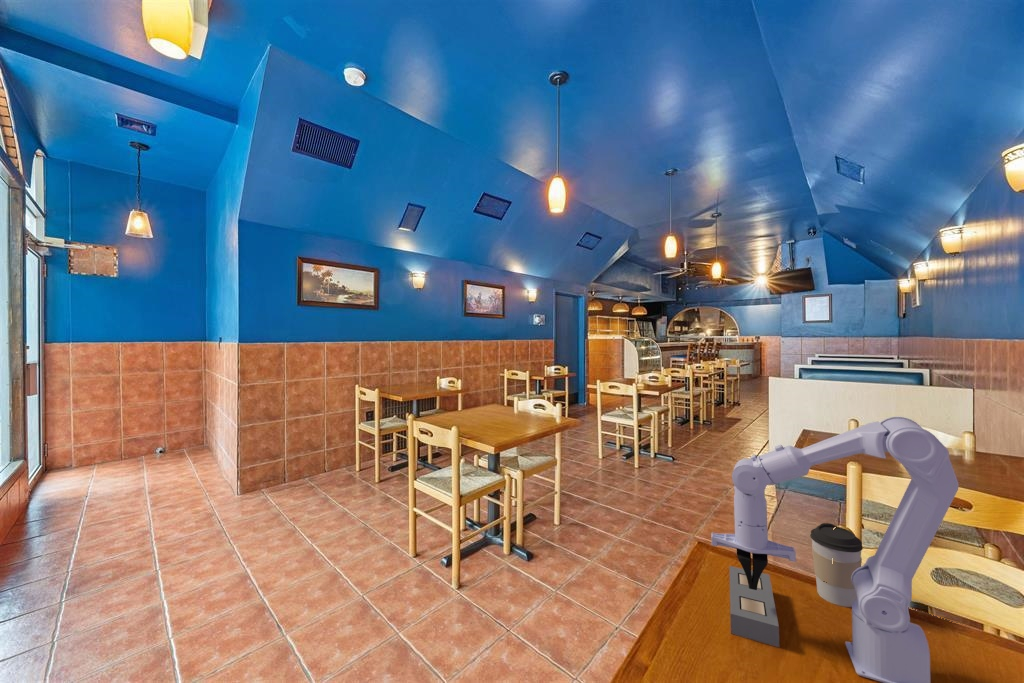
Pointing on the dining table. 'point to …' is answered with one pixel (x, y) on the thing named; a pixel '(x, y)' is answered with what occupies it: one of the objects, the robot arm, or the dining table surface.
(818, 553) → the coffee cup
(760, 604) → the near peg
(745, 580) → the far peg
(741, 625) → the grey peg hole board
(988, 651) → the dining table surface
